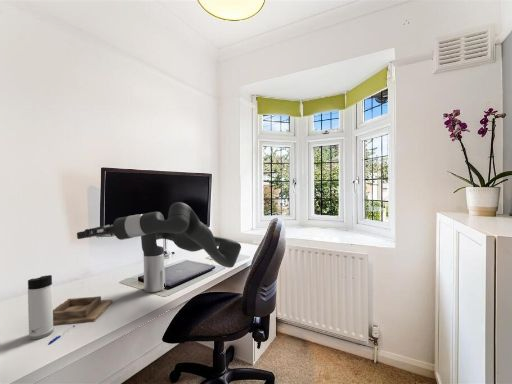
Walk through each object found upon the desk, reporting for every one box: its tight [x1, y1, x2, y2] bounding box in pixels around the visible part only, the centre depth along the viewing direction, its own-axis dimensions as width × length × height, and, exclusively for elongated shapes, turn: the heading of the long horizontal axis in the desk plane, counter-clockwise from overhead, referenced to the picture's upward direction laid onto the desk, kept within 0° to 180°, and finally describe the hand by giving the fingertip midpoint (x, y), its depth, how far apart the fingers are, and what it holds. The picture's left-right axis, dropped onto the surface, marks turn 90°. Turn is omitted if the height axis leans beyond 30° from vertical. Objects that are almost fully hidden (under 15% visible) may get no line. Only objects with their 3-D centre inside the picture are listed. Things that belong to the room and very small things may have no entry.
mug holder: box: [53, 295, 113, 326], centre depth 98 cm, size 20×16×4 cm
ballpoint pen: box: [48, 325, 76, 346], centre depth 84 cm, size 10×1×1 cm, turn 179°
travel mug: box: [27, 274, 54, 341], centre depth 84 cm, size 6×7×20 cm
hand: (87, 235), depth 85 cm, fingers open, 8 cm apart
